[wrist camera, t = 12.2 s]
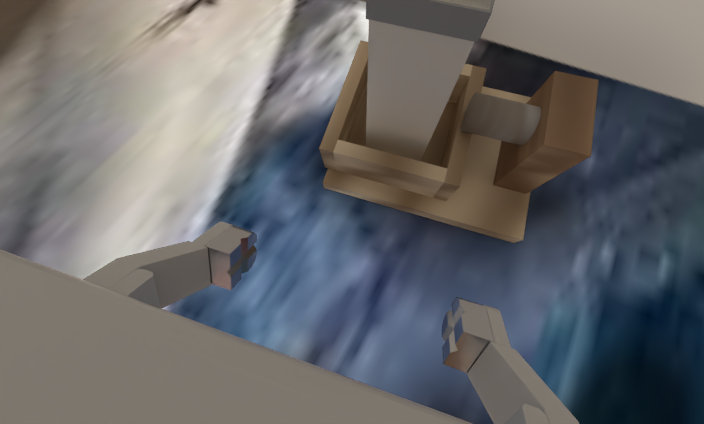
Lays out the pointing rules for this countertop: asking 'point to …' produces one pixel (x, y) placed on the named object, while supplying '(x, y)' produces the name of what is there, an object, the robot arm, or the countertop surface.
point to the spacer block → (416, 67)
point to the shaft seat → (465, 150)
